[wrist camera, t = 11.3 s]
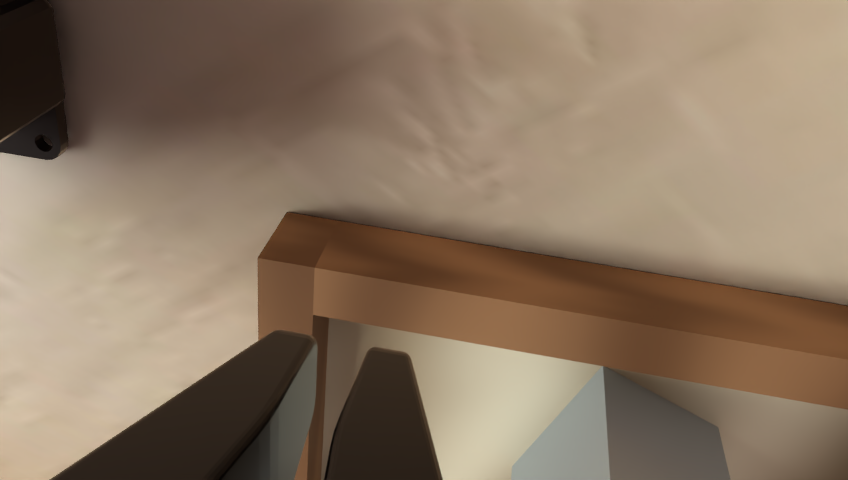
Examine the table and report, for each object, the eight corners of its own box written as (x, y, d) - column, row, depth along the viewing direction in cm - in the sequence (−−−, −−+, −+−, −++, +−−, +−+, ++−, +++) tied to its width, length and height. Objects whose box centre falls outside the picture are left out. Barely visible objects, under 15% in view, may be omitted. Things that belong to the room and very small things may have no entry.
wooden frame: (283, 500, 29) (260, 558, 27) (286, 212, 22) (258, 257, 20) (819, 605, 27) (841, 676, 25) (983, 328, 21) (1030, 391, 19)
